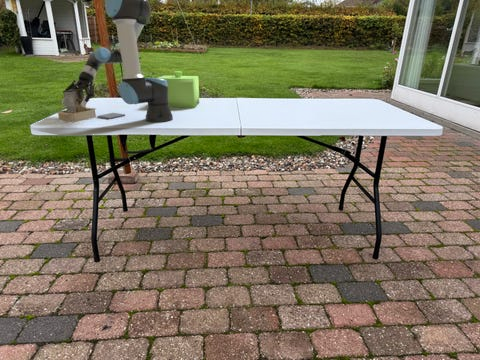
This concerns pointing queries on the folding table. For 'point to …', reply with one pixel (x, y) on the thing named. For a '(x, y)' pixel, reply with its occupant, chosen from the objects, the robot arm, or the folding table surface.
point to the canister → (182, 90)
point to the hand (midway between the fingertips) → (72, 105)
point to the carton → (77, 115)
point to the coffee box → (74, 100)
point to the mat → (111, 116)
